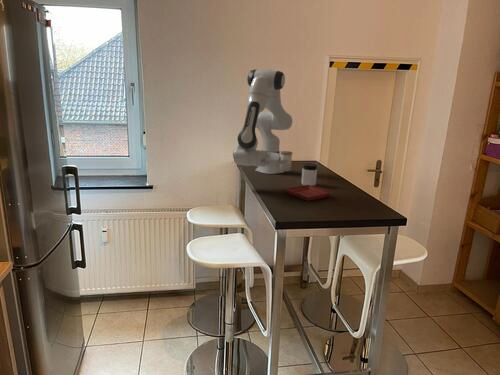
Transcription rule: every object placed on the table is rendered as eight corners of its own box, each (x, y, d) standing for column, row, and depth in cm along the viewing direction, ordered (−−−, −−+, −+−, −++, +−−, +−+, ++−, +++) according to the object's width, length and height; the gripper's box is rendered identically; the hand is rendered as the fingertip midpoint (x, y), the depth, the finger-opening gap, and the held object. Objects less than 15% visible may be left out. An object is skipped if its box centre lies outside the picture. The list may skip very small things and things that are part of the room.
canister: (279, 168, 218) (280, 150, 215) (291, 169, 217) (292, 151, 215) (279, 170, 212) (280, 152, 209) (291, 171, 211) (292, 153, 209)
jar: (307, 186, 227) (309, 166, 223) (298, 183, 233) (299, 163, 230) (318, 185, 232) (320, 165, 228) (309, 181, 238) (311, 162, 235)
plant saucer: (284, 194, 211) (284, 188, 210) (307, 189, 222) (308, 184, 221) (308, 203, 197) (308, 196, 197) (332, 197, 208) (332, 191, 207)
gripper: (260, 156, 204) (287, 158, 202) (264, 149, 223) (288, 151, 222) (260, 168, 205) (286, 170, 204) (263, 160, 225) (287, 162, 224)
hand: (287, 160), depth 213 cm, fingers closed on canister, 6 cm apart
